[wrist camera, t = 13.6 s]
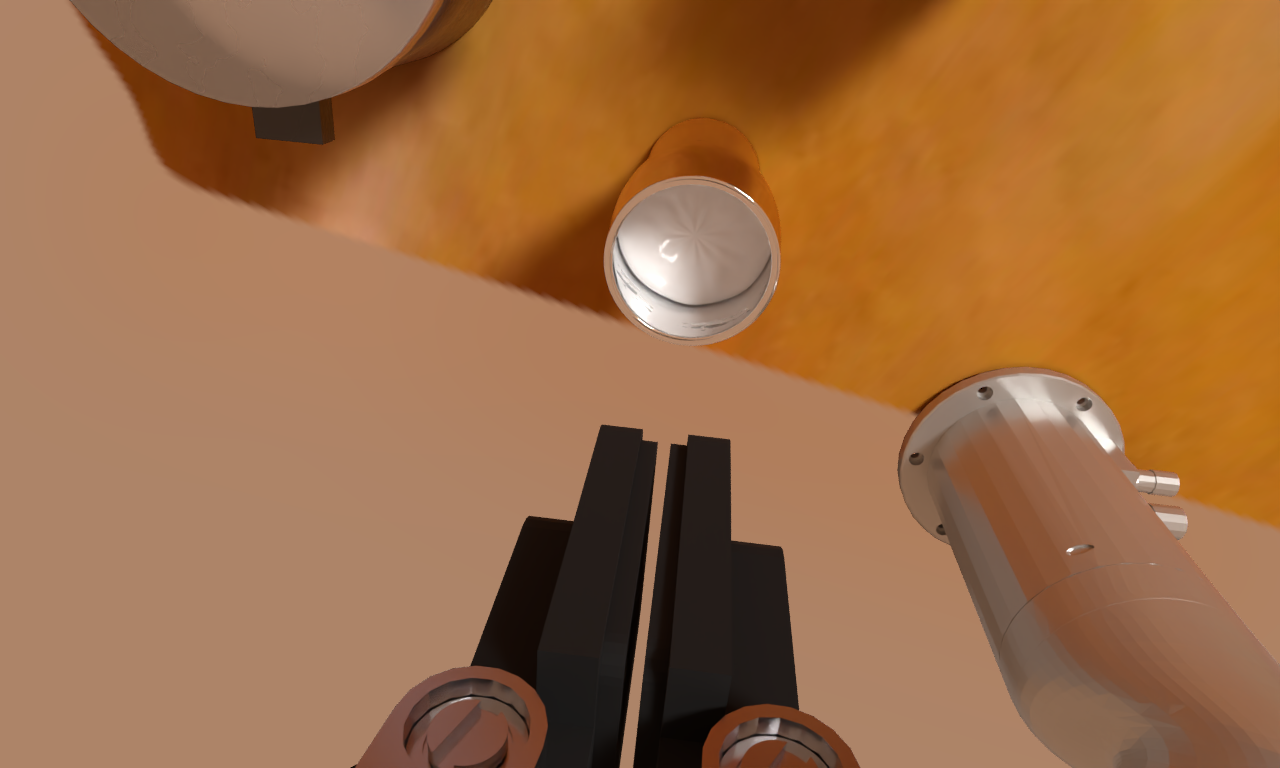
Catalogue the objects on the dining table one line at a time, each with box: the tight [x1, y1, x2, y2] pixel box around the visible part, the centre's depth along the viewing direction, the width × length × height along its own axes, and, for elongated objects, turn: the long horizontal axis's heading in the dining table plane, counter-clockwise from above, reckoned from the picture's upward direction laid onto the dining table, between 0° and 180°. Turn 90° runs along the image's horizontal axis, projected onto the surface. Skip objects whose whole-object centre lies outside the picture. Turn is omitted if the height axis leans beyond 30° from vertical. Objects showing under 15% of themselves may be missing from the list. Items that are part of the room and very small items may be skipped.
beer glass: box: [604, 118, 781, 346], centre depth 37 cm, size 7×7×15 cm
